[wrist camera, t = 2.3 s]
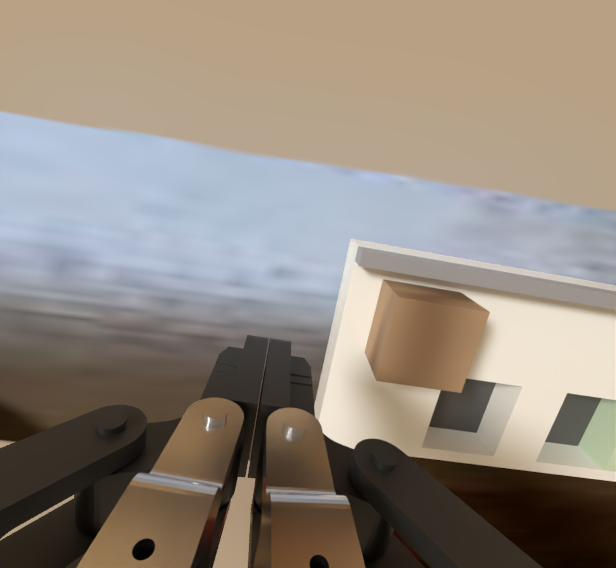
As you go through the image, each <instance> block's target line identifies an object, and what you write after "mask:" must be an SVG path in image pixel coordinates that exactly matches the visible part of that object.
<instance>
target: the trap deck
mask: <svg viewBox="0 0 616 568" xmlns="http://www.w3.org/2000/svg"><path fill="white" fill-rule="evenodd" d="M383 279H385V280H391V281H397V282H403V283H409V284H415V285H421V286H427V287H433V288H439V289H444V290H450V291H456V292H461V293H463V294H464V295H466V296H467V297H468V298H470V299H471V300H473V301H474V302H476V303H477V304H479V305H480V306H482V307H483V308H485V309H486V310H488V311H489V312H490V314H489V317H488V319H487V322H486V325H485V328H484V330H483V333H482V336H481V339H480V342H479V344H478V347H477V350H476V353H475V356H474V358H473V361H472V364H471V367H470V370H469V372H468V375H467V378H466V381H465V383H464V386H463V389H462V392H461V393H458V392H451V391H444V390H437V389H430V388H422V387H415V386H408V385H401V384H394V383H387V382H380V381H376V379H375V377H374V374H373V372H372V369H371V367H370V364H369V362H368V359H367V357H366V354H365V348H366V344H367V340H368V336H369V332H370V328H371V324H372V321H373V317H374V313H375V309H376V305H377V301H378V297H379V293H380V289H381V285H382V281H383ZM314 411H315V418H316V419H317V420H318V421H319V423H320V424H321V427H322V431H323V433H324V434H325V435H326V436H327V437H328V438H330V439H331V440H333V441H335V442H337V443H339V444H342V445H344V446H347V447H350V448H352V449H354V448H355V446H356V445H357V444H358V443H359V442H360V441H362V440H365V439H372V438H373V439H380V440H384V441H387V442H389V443H391V444H393V445H394V446H396V447H397V448H399V449H400V450H401V451H403V452H404V453H405V454H406V455H407V456H411V457H419V458H428V459H436V460H444V461H452V462H460V463H468V464H476V465H485V466H493V467H501V468H509V469H517V470H525V471H533V472H542V473H550V474H558V475H566V476H574V477H582V478H590V479H599V480H607V481H615V482H616V285H611V284H605V283H599V282H594V281H588V280H583V279H577V278H571V277H566V276H560V275H554V274H549V273H543V272H537V271H532V270H526V269H520V268H515V267H509V266H503V265H498V264H492V263H486V262H481V261H475V260H469V259H464V258H458V257H452V256H447V255H441V254H435V253H430V252H424V251H418V250H413V249H407V248H402V247H396V246H390V245H385V244H379V243H373V242H368V241H362V240H356V239H351V240H350V245H349V249H348V254H347V259H346V263H345V268H344V272H343V277H342V281H341V286H340V291H339V295H338V300H337V304H336V309H335V314H334V318H333V323H332V327H331V332H330V337H329V341H328V346H327V350H326V355H325V359H324V364H323V369H322V373H321V378H320V382H319V387H318V392H317V396H316V401H315V405H314Z"/></svg>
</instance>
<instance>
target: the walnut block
mask: <svg viewBox="0 0 616 568" xmlns="http://www.w3.org/2000/svg"><path fill="white" fill-rule="evenodd" d="M489 314H490V312H489V311H488V310H486V309H485V308H483V307H482V306H480V305H479V304H477V303H476V302H474V301H473V300H471V299H470V298H468V297H467V296H466V295H464V294H463V293H461V292H456V291H450V290H444V289H439V288H433V287H427V286H421V285H415V284H409V283H403V282H397V281H391V280H385V279H383V281H382V285H381V289H380V293H379V297H378V301H377V305H376V309H375V313H374V317H373V321H372V324H371V328H370V332H369V336H368V340H367V344H366V348H365V354H366V357H367V359H368V362H369V364H370V367H371V369H372V372H373V374H374V377H375V379H376V381H380V382H387V383H394V384H401V385H408V386H415V387H422V388H430V389H437V390H444V391H451V392H458V393H461V392H462V389H463V386H464V383H465V381H466V378H467V375H468V372H469V370H470V367H471V364H472V361H473V358H474V356H475V353H476V350H477V347H478V344H479V342H480V339H481V336H482V333H483V330H484V328H485V325H486V322H487V319H488V317H489Z"/></svg>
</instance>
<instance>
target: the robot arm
mask: <svg viewBox="0 0 616 568" xmlns="http://www.w3.org/2000/svg"><path fill="white" fill-rule="evenodd" d="M267 344H268V338H264V337H258V336H251V335H247V338H246V342H245V345H244V349H240V348H234V347H228V348H227V349H226V350H224V351H223V352H221V353H220V354H219V356H218V359H217V361H216V364H215V366H214V368H213V371H212V373H211V375H210V378H209V380H208V382H207V385H206V387H205V390H204V392H203V394H202V397H201V399H200V400H199V401H197V402H195V403H194V404H192V405H191V406H190V407H189V408H188V409H187V411H186V412H185V414H184V416H183V417H181V418H178V419H175V420H171V421H165V422H156V423H147V418H146V416H145V414H144V413H143V412H142V411H141V410H139V409H137V408H135V407H132V406H127V405H112V406H107V407H102V408H99V409H97V410H94V411H92V412H89V413H87V414H84V415H82V416H79V417H77V418H74V419H72V420H69V421H67V422H64V423H62V424H59V425H57V426H54V427H52V428H49V429H47V430H45V431H42V432H40V433H37V434H35V435H32V436H30V437H27V438H25V439H22V440H20V441H17V442H15V443H12V444H10V445H7V446H5V447H2V448H0V539H1V538H2V537H3V536H4V535H5V534H6V533H8V532H9V531H11V530H12V529H14V528H15V527H17V526H19V525H20V524H22V523H24V522H26V521H28V520H30V519H31V518H33V517H35V516H37V515H38V514H40V513H42V512H44V511H46V510H47V509H49V508H51V507H53V506H54V505H56V504H58V503H60V502H62V501H63V500H65V499H67V498H68V497H70V496H72V495H74V499H72V500H70V501H69V502H67V503H65V504H63V505H62V506H60V507H58V508H57V509H55V510H53V511H51V512H49V513H48V514H46V515H45V516H42V517H41V518H39V519H37V520H35V521H34V522H32V523H30V524H29V525H27V526H25V527H23V528H22V529H20V530H18V531H16V532H14V533H13V534H11V535H9V536H7V537H6V538H4V539H2V540H1V541H0V568H213V564H214V561H215V557H216V554H217V550H218V546H219V543H220V539H221V535H222V532H223V529H224V525H225V521H226V518H227V514H228V511H229V507H230V502H231V498H232V496H233V494H234V492H235V487H236V482H237V477H245V475H246V470H247V464H248V458H249V452H250V446H251V441H252V435H253V429H254V423H255V418H256V412H257V406H258V400H259V394H260V388H261V381H262V375H263V369H264V363H265V357H266V350H267ZM311 378H312V375H311V367H310V365H309V364H308V363H307V361H306V360H305V359H304V358H301V357H294V356H291V341H284V340H278V339H271V338H270V343H269V349H268V354H267V360H266V366H265V372H264V377H263V383H262V389H261V395H260V402H259V408H258V415H257V421H256V427H255V434H254V440H253V447H252V453H251V460H250V466H249V473H248V478H256V479H255V487H254V494H253V499H252V504H251V513H250V533H249V552H248V568H425V567H424V566H423V565H422V564H421V563H420V562H419V561H418V560H417V559H416V558H415V557H414V556H413V555H412V554H411V553H410V552H409V551H408V549H407V548H406V547H405V546H404V545H403V544H402V543H401V542H400V541H399V540H398V539H397V538H396V537H395V536H394V535H393V531H394V530H395V531H396V532H397V533H398V534H399V535H400V536H401V537H402V538H403V539H404V540H405V541H406V542H407V543H408V544H409V546H410V547H411V548H412V549H413V550H414V551H415V552H416V553H417V554H418V555H419V556H420V557H421V558H422V559H423V560H424V561H425V562H426V563H427V564H428V565H429V566H430V567H431V568H542V567H541V566H540V565H539V564H538V563H536V562H535V561H534V560H533V559H532V558H530V557H529V556H528V555H527V554H526V553H524V552H523V551H522V550H521V549H520V548H518V547H517V546H516V545H515V544H514V543H512V542H511V541H510V540H509V539H507V538H506V537H505V536H504V535H503V534H501V533H500V532H499V531H498V530H497V529H495V528H494V527H493V526H492V525H491V524H489V523H488V522H487V521H486V520H485V519H483V518H482V517H481V516H480V515H479V514H477V513H476V512H475V511H474V510H473V509H471V508H470V507H469V506H468V505H466V504H465V503H464V502H463V501H462V500H460V499H459V498H458V497H457V496H456V495H454V494H453V493H452V492H451V491H450V490H448V489H447V488H446V487H445V486H444V485H442V484H441V483H440V482H439V481H438V480H436V479H435V478H434V477H433V476H432V475H430V474H429V473H428V472H427V471H425V470H424V469H423V468H422V467H421V466H419V465H418V464H417V463H416V462H415V461H413V460H412V459H411V458H410V457H409V456H407V455H406V454H405V453H404V452H403V451H401V450H400V449H399V448H397V447H396V446H394V445H393V444H391V443H389V442H387V441H384V440H380V439H373V438H372V439H365V440H362V441H360V442H359V443H358V444H357V445H356V446H355V448H354V449H352V448H350V447H347V446H344V445H342V444H339V443H337V442H335V441H333V440H331V439H330V438H328V437H327V436H326V435H325V434H324V433H323V431H322V427H321V424H320V423H319V421H318V420H317V419H316V418H315V411H314V399H313V387H312V379H311Z"/></svg>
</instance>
